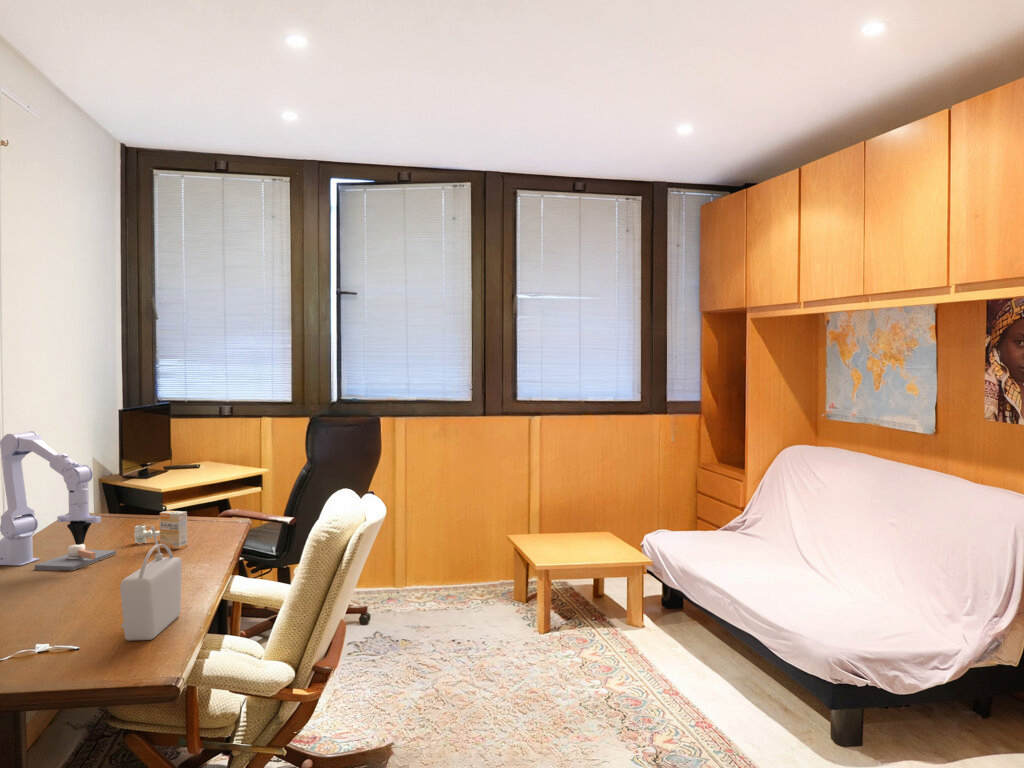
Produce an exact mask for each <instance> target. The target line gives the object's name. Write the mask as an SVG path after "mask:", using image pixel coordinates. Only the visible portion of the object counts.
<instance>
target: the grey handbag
mask: <svg viewBox="0 0 1024 768" xmlns="http://www.w3.org/2000/svg"><path fill="white" fill-rule="evenodd" d="M150 530H152V532H153V536H152V537H153V539H154V543H155V545H153V546H152V547H151V548H150V549H149V551H148V552H147V553H146V555H145V557H144V558H143V559H144V560H143V562H142V564H141V567H140V568H139V569H137V570H135V571H134V572H133V573H131V574H130V575H128V576H126V577H125V578H123V579H122V581H121V582H120V587H119V590H120V600H121V609H122V610H121V611H122V621H123V622H122V623H121V625H120V628H121V629H123V630H124V631H123V633H124V639H125V640H126V641H130V642H131V641H150V640H151V641H152V640H153V639H155V638H156V637H157V636H159V634H160V633H161V632H163V631H164V630H165V629H166V628H167V627H169V625H170V624H171V623H173V622H174V621H175V620H176V619H177V618H178V617H179V616H180V615H181V606H182V605H181V604H182V578H183V577H182V570H183V562H182V559H181V557H180V556H179V557H178V556H174V555H173V553H172V549H169V547H168V546H167V545H164V544H160V543H159V541H158V538H157V537H158V536H156V534H155V531H156V528H155V526H154V525H151V526H150ZM160 545H162V546H164V547H165V548H164V549H165V550H166V551H167V553H168V557H167V556H166V557H164V554H163V553H161V548H160ZM155 549H156V551H157V553H155V555H154V559H152V560H151V561H150V562H149V558H150V557H151V555H152V553H153V552H154V550H155Z"/></svg>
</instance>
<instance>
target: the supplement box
mask: <svg viewBox="0 0 1024 768" xmlns="http://www.w3.org/2000/svg"><path fill="white" fill-rule="evenodd" d="M159 532H160V535H159V541H160V542H159V544H164V545H167V546H168V547H169V549H170V550H183V549H184V548H187V547H188V511H179V510H165V511H161V512H159ZM159 548H160V549H165V547H164V546H162V545H159Z"/></svg>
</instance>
